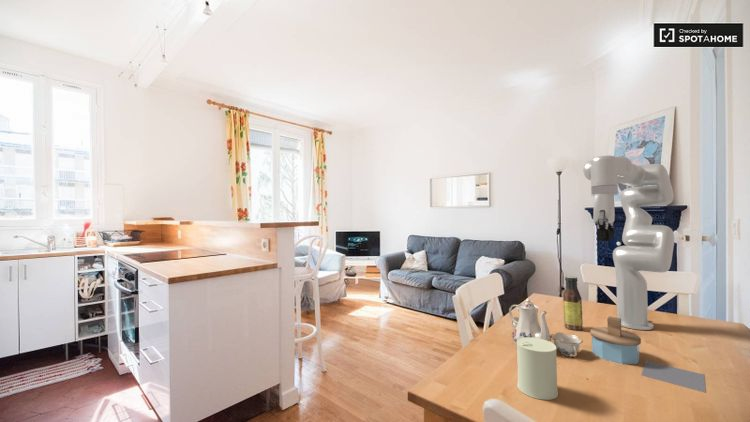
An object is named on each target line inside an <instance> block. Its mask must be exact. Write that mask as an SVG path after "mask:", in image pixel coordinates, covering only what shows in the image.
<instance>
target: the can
mask: <svg viewBox="0 0 750 422" xmlns="http://www.w3.org/2000/svg"><path fill="white" fill-rule="evenodd" d="M557 349H558V348H557V347H556V346H555V344H554V342H552V341H547V340H544V339H539V338H533V337H524V338H519V339H518V340H517V346H516V351H517V352H516V354H517V356H516V357H517V359H516V360H517V383H516V386H517V389H518V390H519V391H521V393H523V394H524V395H526V396H528V397H530V398H534V399H537V400H542V401H544V400H545V401H550V400H554V399H556V398H558V395H559V392H558V378H557V377H558V373H557V371H558V370H557V369H558V368H557V365H558V363H557Z"/></svg>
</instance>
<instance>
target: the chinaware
mask: <svg viewBox="0 0 750 422" xmlns="http://www.w3.org/2000/svg"><path fill="white" fill-rule="evenodd" d="M513 307H517V309H516V311H518V312H519V317H518V316H513V313H512V310H513ZM539 308H540V307H539V306H538V305H535V304H534V303H533V302H531V300H530V298H526V300H525V301H524V302H522V303H521V304H512V305H511V306H510V307H509V309H508V315H509V317H510V319H511V324H512V325H511V326H512V327H514V329H513V331H512V333H511V335H510V336H511V338H512V340H513V341H514V342H515V346H516V347H517V340H518V339H519V338H524V337H533V338H539V339H544V340H547V341H549V342H551V341H550V340H551V339H552V340H553V344H554V345H555V346H556V347H557V349H558V351H560V352H561V353H560V355H563V356H565V357H574V358H575V357H576V356H577V352H578V350H579V349H580V346H581V344H583V343H584V340H583V339H580V337H579V336H578V335H575V334H567V333H564V332H557V333H555V334H553V333H551V332H550V330H549V327H548V323H547V320H546V315H547V313H548V312H547V311H545V310H543V311H542V312H541V313H540V315H538V311H539ZM538 316H539V318H538ZM539 322H540V323H539ZM550 333H551V334H550Z"/></svg>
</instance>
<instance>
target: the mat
mask: <svg viewBox="0 0 750 422" xmlns="http://www.w3.org/2000/svg"><path fill="white" fill-rule="evenodd" d="M641 376H643V377H646V378H650V379H653V380H657V381H660V382H661V381H662V382H665V383H669V384H671V385H672V384H673V385H675V386H680V387H683V388H687V389H691V390H694V391H698V392H701V393H706V392H707V391H706V381H705V377H706V376H705V374H702V373H699V372H694V371H691V370H686V369H682V368H679V367H674V366H671V365H666V364H662V363H659V362H655V361H650V360H645V361H644V365H643V368H642V370H641Z"/></svg>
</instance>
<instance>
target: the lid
mask: <svg viewBox="0 0 750 422" xmlns="http://www.w3.org/2000/svg"><path fill="white" fill-rule="evenodd" d="M606 319H607V321H606V322H607V327H606V326H605V327H604V326H602V327H601V326H600V327H599V326H598V327H592V328H591V329H590V335H591V337H592V336H593V337H594V338H596V339H598V340H601V341H604V342H607V343H611V344H617V345H624V346H636V345H639V346H640V345H641V344H642V339H641V337H640V336H639V335H637V334H635V333H633V332H630V331H627V330H623V329H622V326H621V318H617V316H616V317H615V316H611V315H608V317H607V318H606Z"/></svg>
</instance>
